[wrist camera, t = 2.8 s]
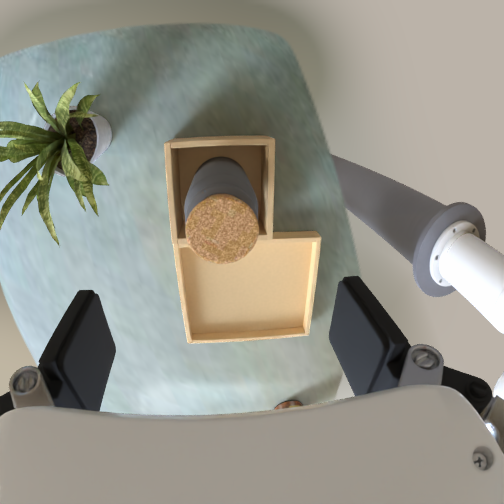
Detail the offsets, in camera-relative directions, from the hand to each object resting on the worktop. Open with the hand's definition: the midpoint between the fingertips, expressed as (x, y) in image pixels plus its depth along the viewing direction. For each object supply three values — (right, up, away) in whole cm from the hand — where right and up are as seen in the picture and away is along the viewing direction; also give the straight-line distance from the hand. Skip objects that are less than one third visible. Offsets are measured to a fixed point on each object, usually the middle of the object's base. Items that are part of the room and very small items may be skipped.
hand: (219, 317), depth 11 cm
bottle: (-2, +10, +21) cm, 24 cm away
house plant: (-18, +15, +18) cm, 30 cm away
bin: (-2, +10, +22) cm, 24 cm away
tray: (+1, -2, +28) cm, 28 cm away
